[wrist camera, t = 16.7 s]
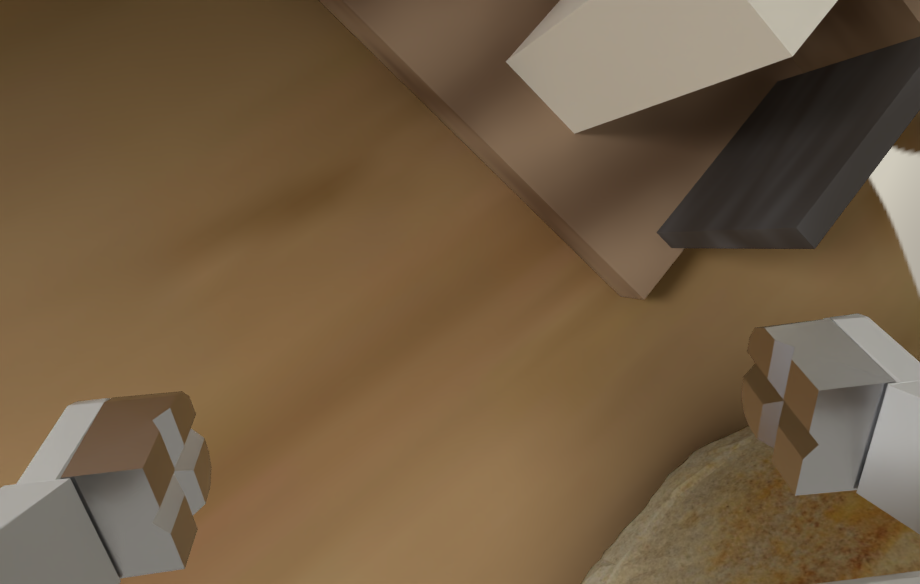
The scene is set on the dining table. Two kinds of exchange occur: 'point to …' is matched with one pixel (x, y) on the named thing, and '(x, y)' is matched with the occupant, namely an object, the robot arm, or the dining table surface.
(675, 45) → the white rectangular block
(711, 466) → the rough brown rock
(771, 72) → the shelf
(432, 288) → the dining table surface
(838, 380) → the robot arm
